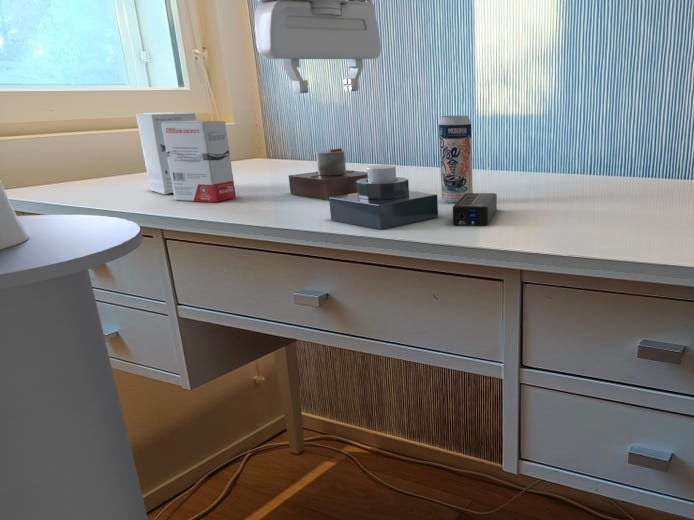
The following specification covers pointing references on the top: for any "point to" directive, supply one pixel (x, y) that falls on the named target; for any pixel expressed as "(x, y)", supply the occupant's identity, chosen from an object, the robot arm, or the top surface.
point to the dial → (331, 162)
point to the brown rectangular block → (325, 184)
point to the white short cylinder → (381, 173)
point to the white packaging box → (158, 147)
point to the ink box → (199, 160)
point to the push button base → (383, 205)
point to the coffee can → (455, 157)
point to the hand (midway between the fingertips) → (327, 92)
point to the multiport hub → (475, 209)
